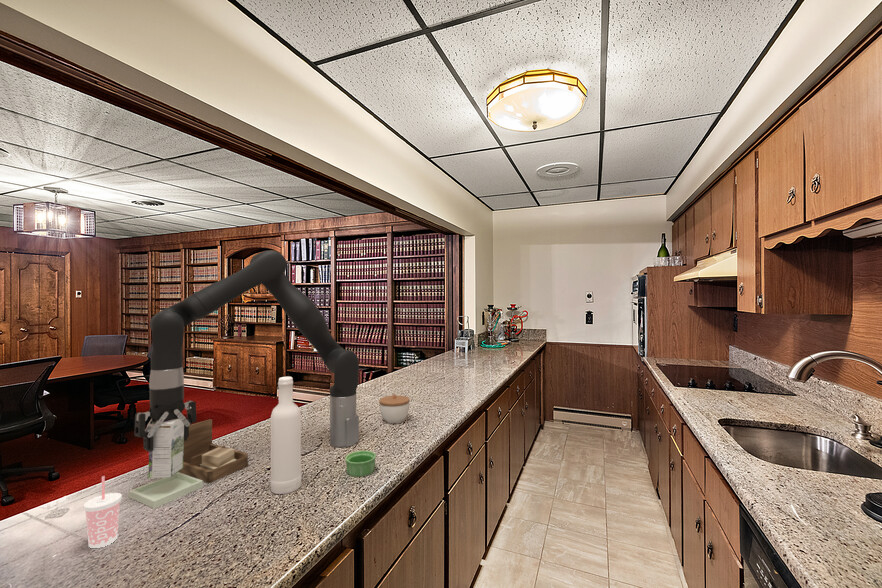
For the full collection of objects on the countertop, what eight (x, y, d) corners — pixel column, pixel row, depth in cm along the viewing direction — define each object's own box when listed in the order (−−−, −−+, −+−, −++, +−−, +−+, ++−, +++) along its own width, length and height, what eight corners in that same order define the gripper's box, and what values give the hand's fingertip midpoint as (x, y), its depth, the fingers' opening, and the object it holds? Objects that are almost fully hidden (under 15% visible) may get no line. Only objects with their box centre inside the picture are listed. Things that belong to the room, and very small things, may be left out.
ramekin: (339, 475, 111) (339, 460, 111) (356, 462, 120) (356, 448, 120) (365, 480, 108) (365, 464, 108) (381, 466, 116) (381, 452, 117)
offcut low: (236, 469, 116) (236, 459, 116) (214, 479, 110) (214, 469, 110) (222, 465, 120) (222, 455, 120) (200, 474, 113) (199, 464, 113)
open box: (247, 466, 118) (247, 427, 118) (209, 483, 107) (208, 440, 107) (210, 455, 126) (210, 419, 126) (171, 470, 116) (170, 430, 116)
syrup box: (162, 469, 105) (162, 416, 105) (184, 468, 106) (184, 415, 106) (148, 479, 99) (147, 423, 99) (171, 478, 100) (171, 422, 100)
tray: (203, 486, 105) (203, 480, 105) (153, 508, 94) (153, 501, 94) (178, 477, 110) (178, 472, 110) (129, 497, 100) (129, 490, 100)
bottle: (270, 483, 106) (270, 376, 107) (300, 478, 109) (300, 373, 110) (270, 497, 99) (269, 381, 99) (302, 490, 102) (301, 379, 102)
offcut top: (234, 458, 117) (234, 449, 117) (218, 467, 111) (217, 457, 111) (218, 456, 119) (218, 447, 119) (201, 465, 113) (201, 455, 113)
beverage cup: (77, 555, 77) (77, 485, 77) (91, 537, 83) (91, 473, 83) (115, 546, 80) (115, 479, 80) (126, 530, 85) (126, 468, 85)
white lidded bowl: (375, 418, 163) (375, 393, 163) (403, 414, 168) (403, 389, 168) (384, 427, 151) (384, 400, 152) (414, 423, 157) (413, 396, 157)
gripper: (144, 392, 95) (144, 458, 94) (202, 380, 107) (202, 438, 107) (128, 389, 98) (128, 452, 98) (186, 378, 111) (186, 434, 111)
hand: (167, 445), depth 102 cm, fingers closed on syrup box, 8 cm apart
